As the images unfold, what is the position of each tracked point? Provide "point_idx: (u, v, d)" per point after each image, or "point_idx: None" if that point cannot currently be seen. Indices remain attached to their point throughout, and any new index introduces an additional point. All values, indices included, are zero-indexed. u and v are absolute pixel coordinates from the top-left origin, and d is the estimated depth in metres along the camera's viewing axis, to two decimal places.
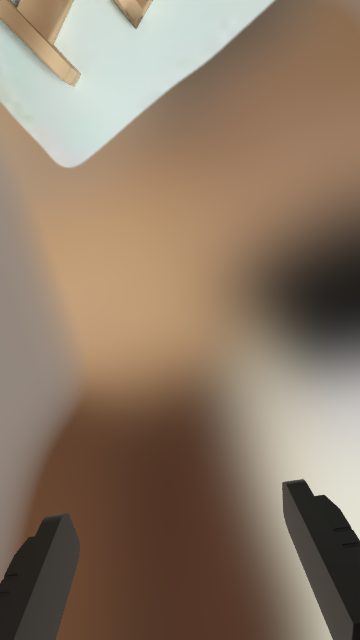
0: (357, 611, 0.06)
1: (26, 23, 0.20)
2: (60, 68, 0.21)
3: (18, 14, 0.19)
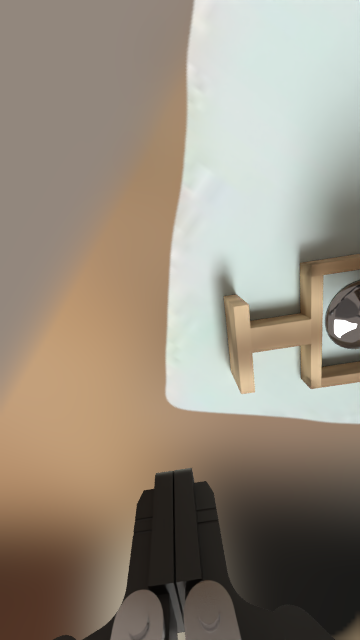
0: (183, 573, 0.07)
1: (250, 355, 0.21)
2: (247, 387, 0.22)
3: (250, 348, 0.21)
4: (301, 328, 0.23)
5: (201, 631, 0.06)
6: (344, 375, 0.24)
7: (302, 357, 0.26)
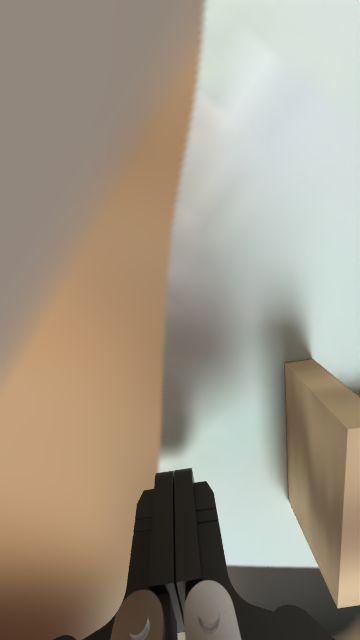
0: (183, 572, 0.07)
1: None
2: (353, 596, 0.09)
3: None
4: None
5: (201, 631, 0.06)
6: None
7: None
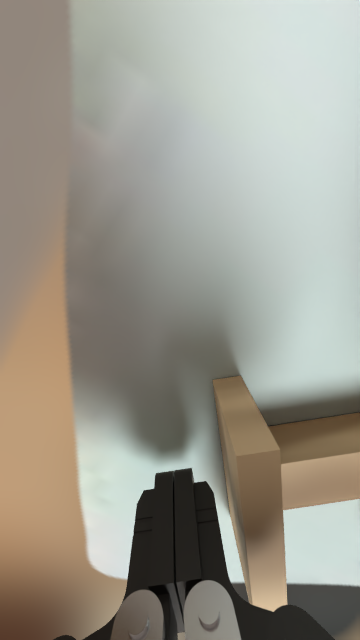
0: (183, 573, 0.07)
1: (281, 559, 0.08)
2: None
3: (281, 546, 0.08)
4: None
5: (201, 631, 0.06)
6: None
7: None
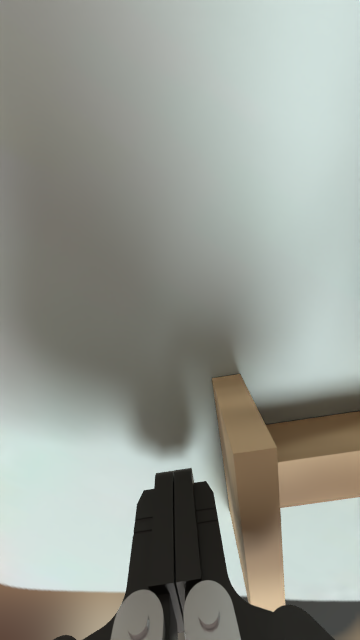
0: (183, 573, 0.07)
1: (279, 556, 0.08)
2: None
3: (279, 543, 0.08)
4: None
5: (201, 631, 0.06)
6: None
7: None
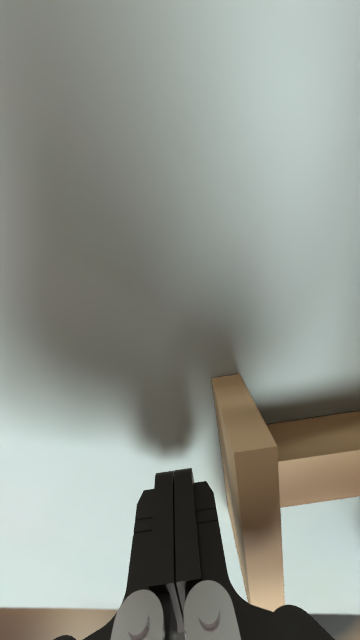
0: (183, 573, 0.07)
1: (278, 555, 0.08)
2: None
3: (279, 542, 0.08)
4: None
5: (201, 631, 0.06)
6: None
7: None
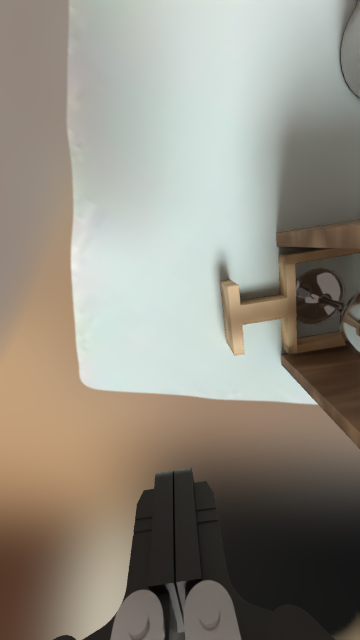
0: (183, 572, 0.07)
1: (241, 324, 0.28)
2: (238, 350, 0.29)
3: (240, 319, 0.28)
4: (279, 305, 0.30)
5: (201, 631, 0.06)
6: (315, 342, 0.31)
7: (282, 330, 0.32)
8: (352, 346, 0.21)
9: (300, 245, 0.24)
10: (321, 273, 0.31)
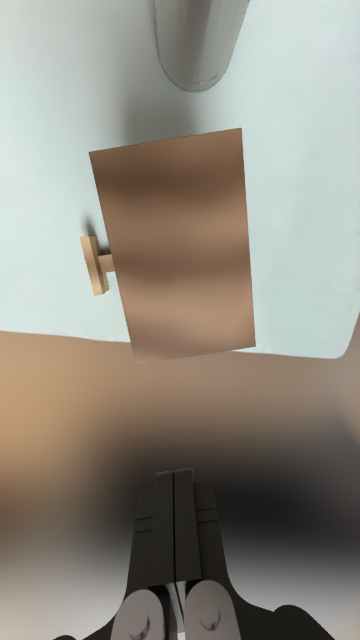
0: (183, 572, 0.07)
1: (95, 269, 0.35)
2: (97, 291, 0.36)
3: (94, 264, 0.35)
4: None
5: (201, 631, 0.06)
6: None
7: None
8: None
9: None
10: None
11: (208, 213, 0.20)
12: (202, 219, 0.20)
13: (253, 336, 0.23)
